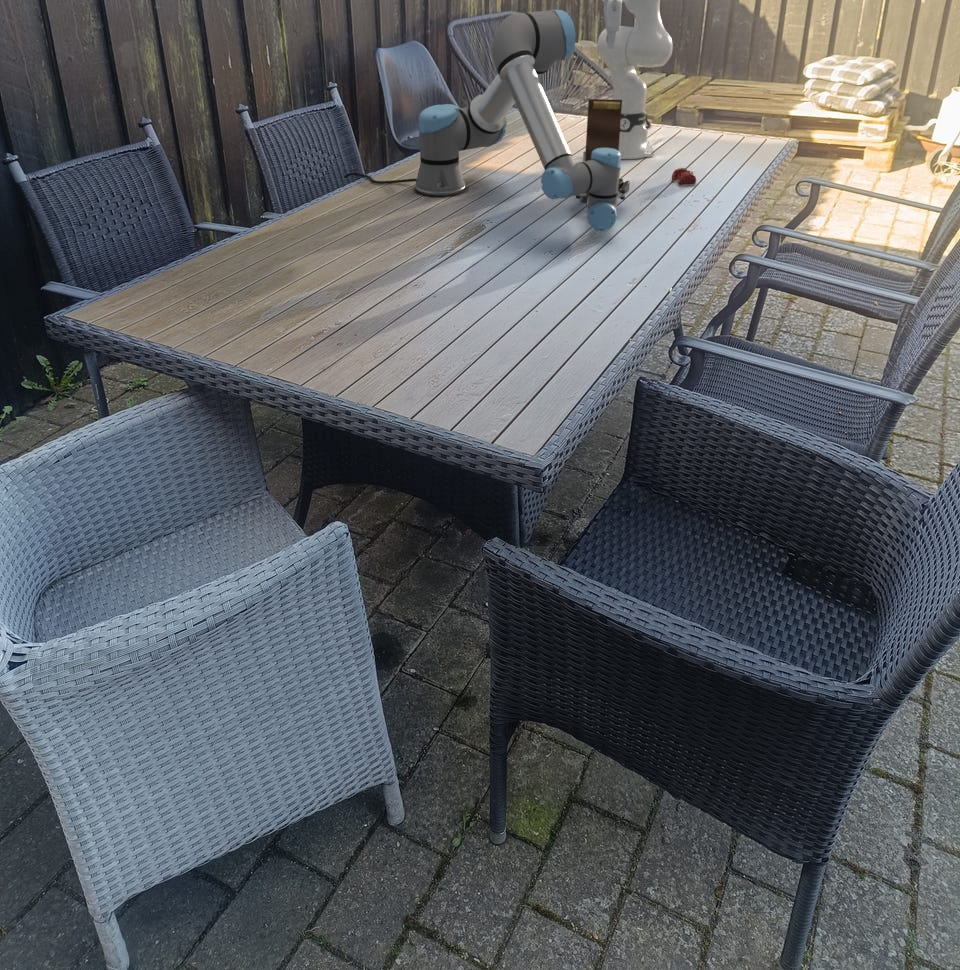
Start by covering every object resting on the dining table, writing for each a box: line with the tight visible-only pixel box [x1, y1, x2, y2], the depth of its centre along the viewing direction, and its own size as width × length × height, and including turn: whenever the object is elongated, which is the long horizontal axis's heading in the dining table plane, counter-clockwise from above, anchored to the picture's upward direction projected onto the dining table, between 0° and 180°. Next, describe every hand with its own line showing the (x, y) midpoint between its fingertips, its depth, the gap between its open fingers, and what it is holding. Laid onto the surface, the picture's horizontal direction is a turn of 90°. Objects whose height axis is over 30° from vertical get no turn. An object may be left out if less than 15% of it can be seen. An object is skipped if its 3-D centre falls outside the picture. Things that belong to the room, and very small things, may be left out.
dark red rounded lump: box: [671, 167, 697, 186], centre depth 263 cm, size 6×4×8 cm
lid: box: [584, 98, 622, 161], centre depth 236 cm, size 17×9×9 cm
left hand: (599, 177), depth 247 cm, fingers closed on chest, 9 cm apart
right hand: (609, 45), depth 228 cm, fingers open, 8 cm apart
